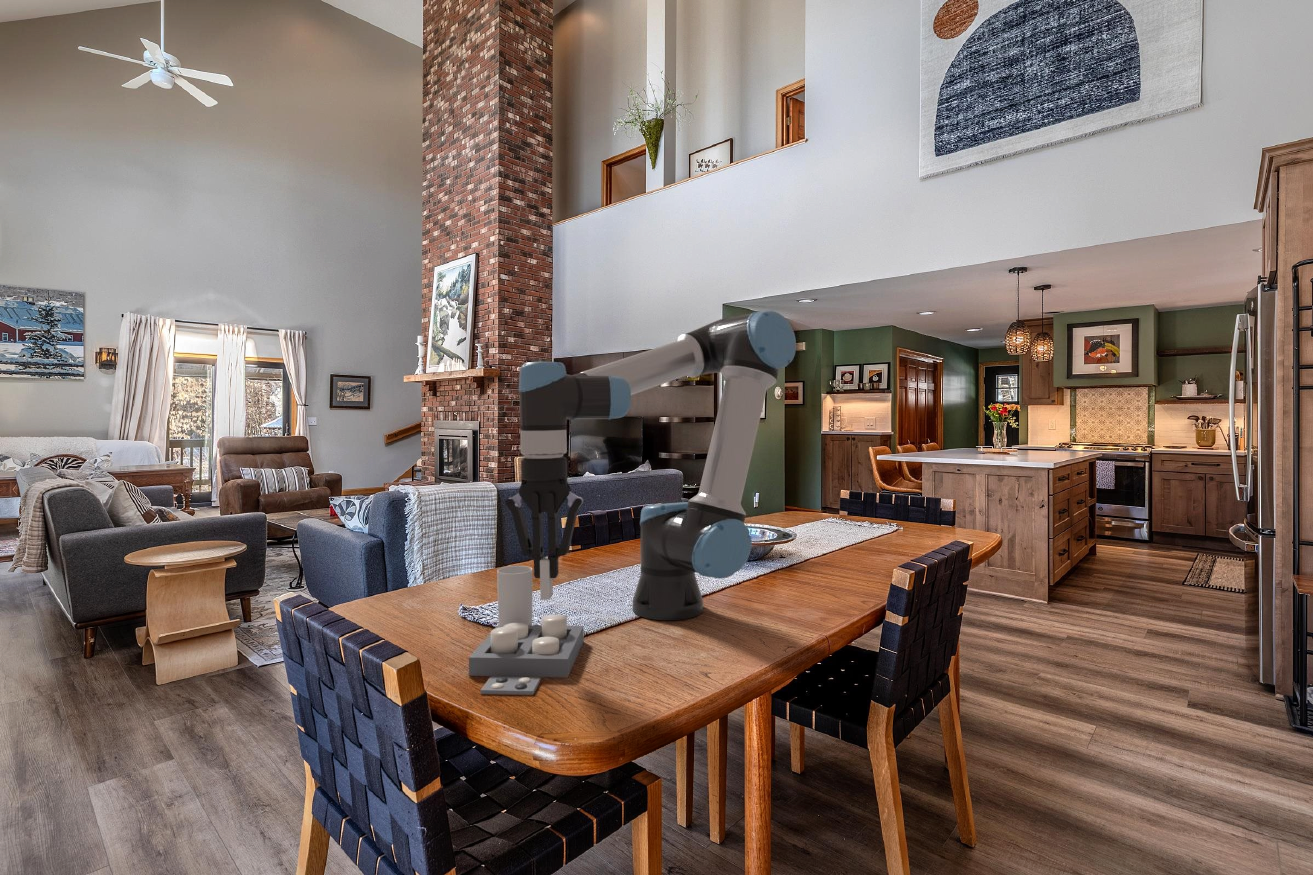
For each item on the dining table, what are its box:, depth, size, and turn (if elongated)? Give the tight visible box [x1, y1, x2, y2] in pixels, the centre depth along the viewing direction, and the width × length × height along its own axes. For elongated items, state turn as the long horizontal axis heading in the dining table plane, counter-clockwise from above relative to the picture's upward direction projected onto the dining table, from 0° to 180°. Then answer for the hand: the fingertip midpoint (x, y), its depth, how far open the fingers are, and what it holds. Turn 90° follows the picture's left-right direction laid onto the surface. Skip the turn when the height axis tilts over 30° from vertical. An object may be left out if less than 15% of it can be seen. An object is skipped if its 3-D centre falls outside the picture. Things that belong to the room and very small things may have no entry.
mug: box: [496, 565, 534, 625], centre depth 125 cm, size 10×7×12 cm, turn 25°
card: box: [480, 676, 542, 696], centre depth 98 cm, size 8×5×1 cm, turn 87°
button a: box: [541, 614, 568, 639], centre depth 113 cm, size 4×4×4 cm
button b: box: [503, 623, 528, 639], centre depth 114 cm, size 4×4×4 cm
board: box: [468, 624, 585, 679], centre depth 110 cm, size 16×16×3 cm
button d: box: [490, 627, 518, 654], centre depth 107 cm, size 4×4×4 cm
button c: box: [532, 637, 559, 654], centre depth 106 cm, size 4×4×4 cm
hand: (546, 596), depth 106 cm, fingers closed
